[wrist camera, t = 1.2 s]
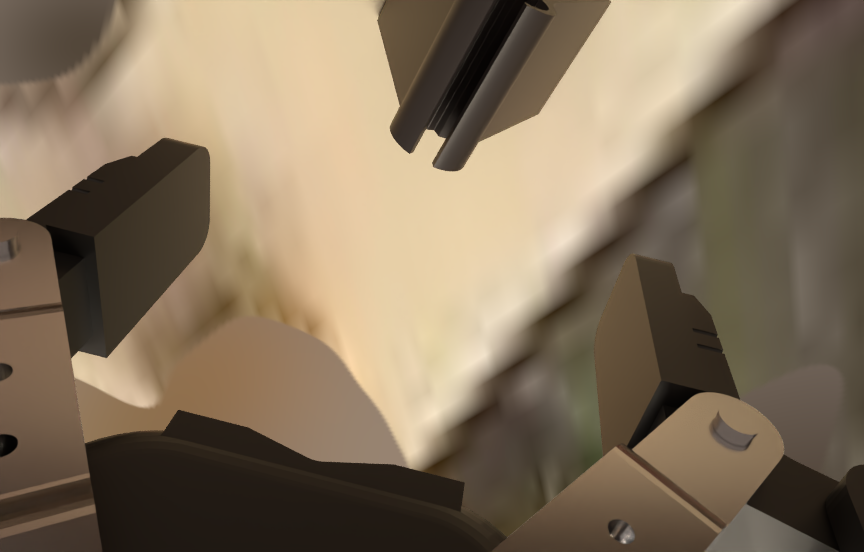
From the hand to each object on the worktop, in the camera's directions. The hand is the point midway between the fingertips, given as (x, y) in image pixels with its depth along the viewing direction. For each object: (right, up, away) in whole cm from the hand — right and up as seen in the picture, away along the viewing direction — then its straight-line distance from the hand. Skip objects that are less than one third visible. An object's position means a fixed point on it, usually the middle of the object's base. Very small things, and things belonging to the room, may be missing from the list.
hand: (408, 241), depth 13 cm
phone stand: (+3, +12, +19) cm, 22 cm away
